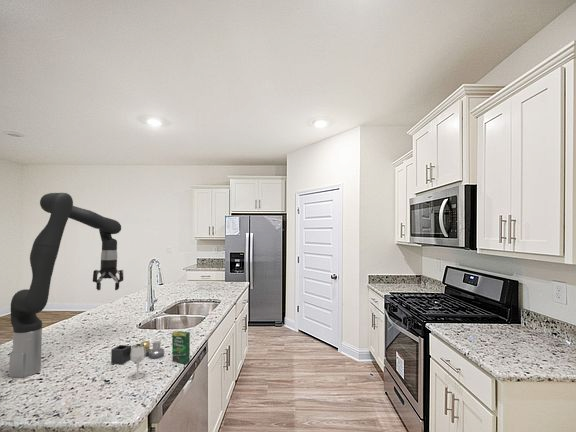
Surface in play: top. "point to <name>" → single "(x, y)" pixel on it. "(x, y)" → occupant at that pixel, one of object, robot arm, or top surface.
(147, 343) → the socket
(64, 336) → the top surface
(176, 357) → the coffee box
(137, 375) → the wineglass
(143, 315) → the top surface
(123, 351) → the socket
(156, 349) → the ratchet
